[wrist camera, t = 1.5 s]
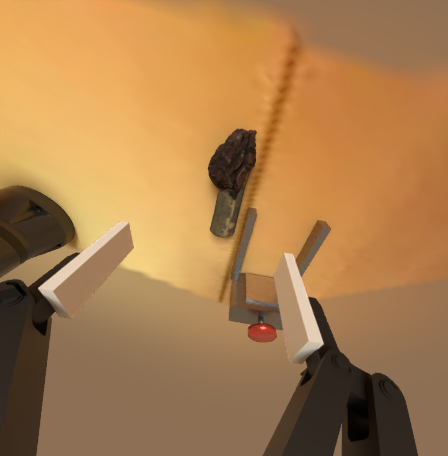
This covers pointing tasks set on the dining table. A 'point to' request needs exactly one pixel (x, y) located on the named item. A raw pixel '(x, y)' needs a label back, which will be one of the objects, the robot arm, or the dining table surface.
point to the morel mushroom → (231, 178)
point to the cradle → (264, 285)
